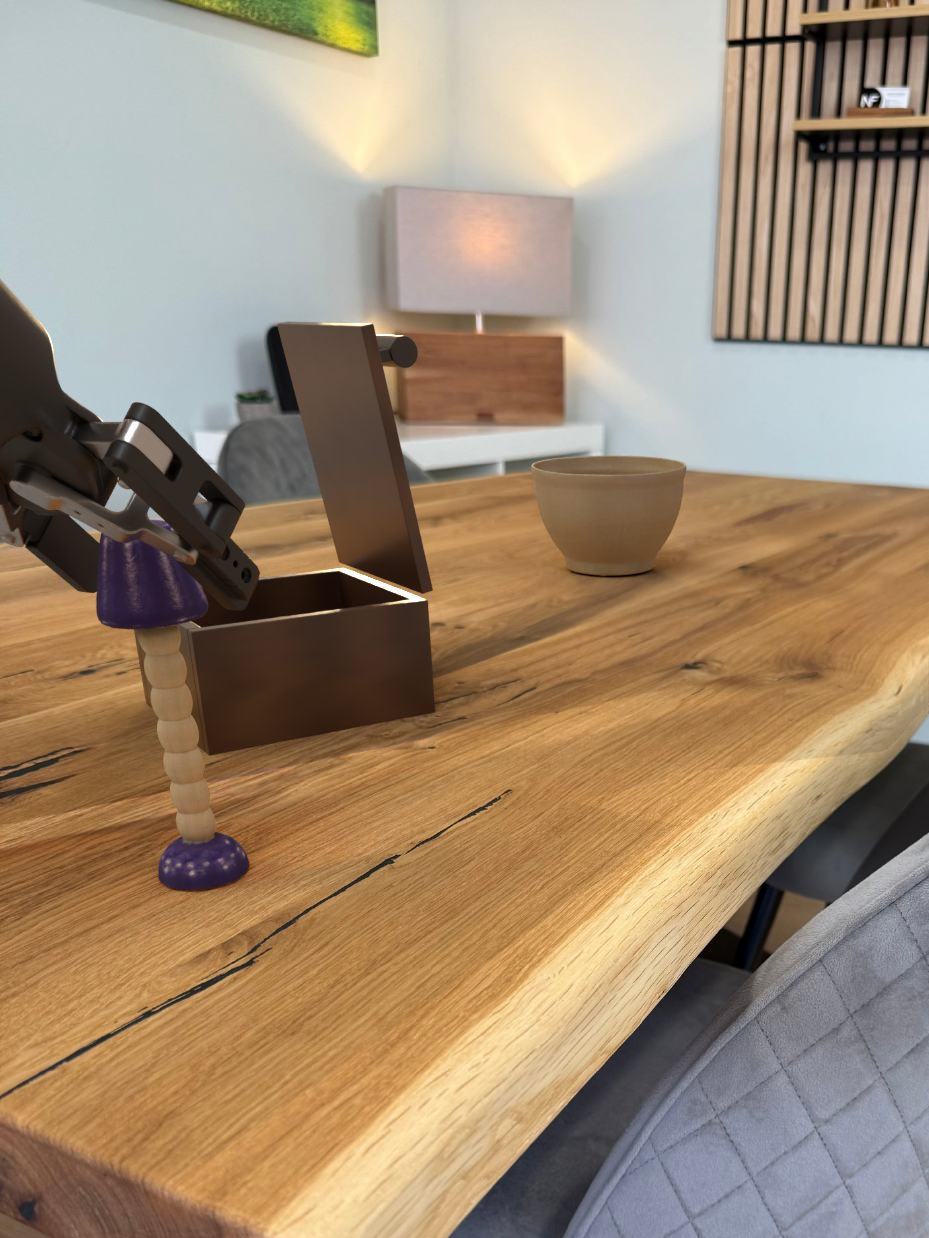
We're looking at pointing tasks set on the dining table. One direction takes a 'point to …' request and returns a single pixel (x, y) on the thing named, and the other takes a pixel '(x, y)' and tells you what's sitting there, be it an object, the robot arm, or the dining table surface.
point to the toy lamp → (169, 700)
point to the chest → (305, 660)
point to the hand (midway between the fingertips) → (170, 584)
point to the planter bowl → (609, 509)
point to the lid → (358, 444)
